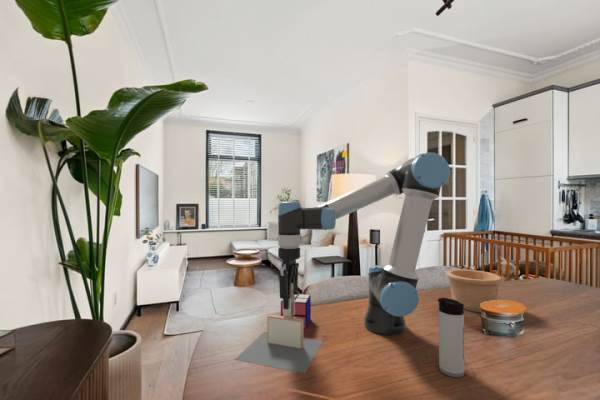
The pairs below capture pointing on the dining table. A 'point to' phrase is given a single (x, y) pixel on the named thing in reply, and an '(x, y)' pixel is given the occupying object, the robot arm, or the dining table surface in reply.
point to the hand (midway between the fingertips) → (289, 315)
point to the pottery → (473, 287)
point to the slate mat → (280, 354)
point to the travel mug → (451, 337)
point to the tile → (285, 331)
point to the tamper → (291, 299)
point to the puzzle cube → (301, 308)
